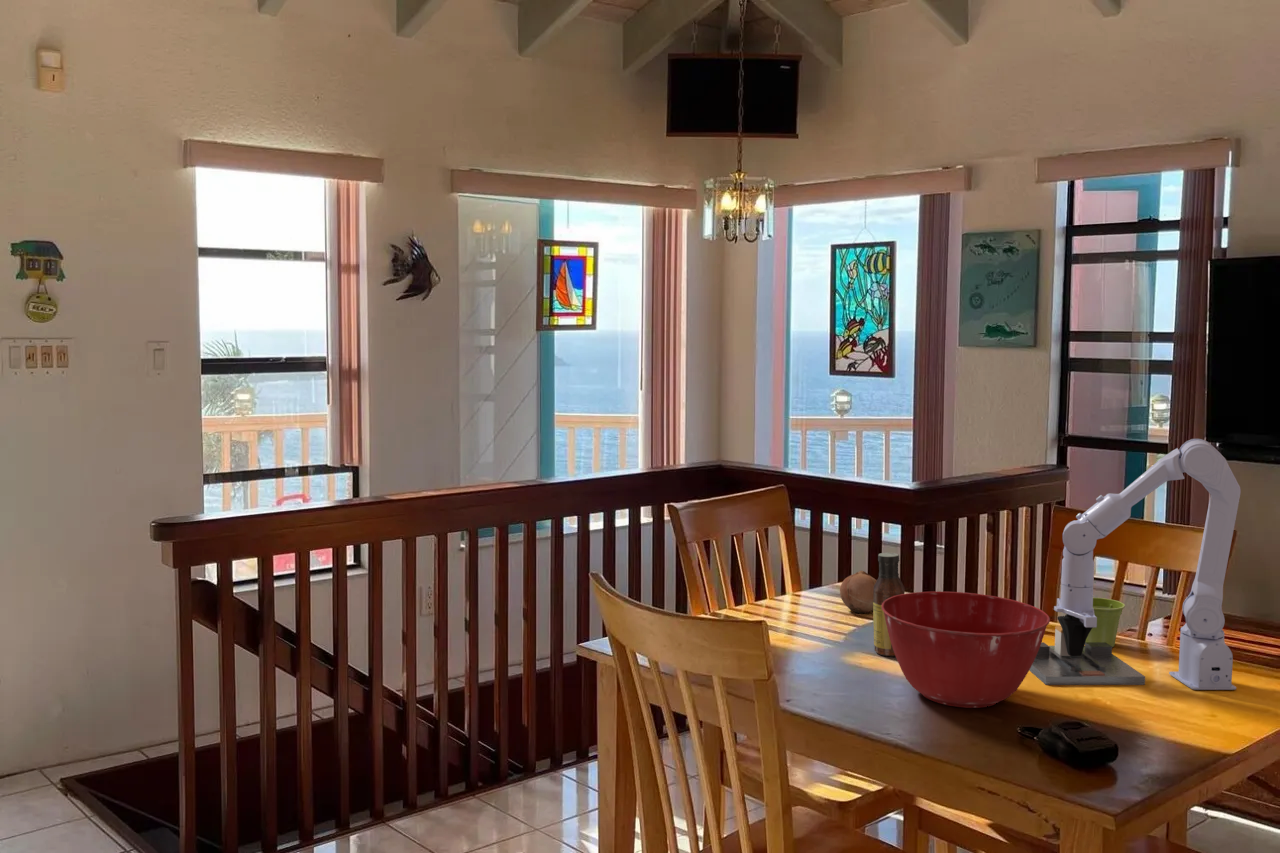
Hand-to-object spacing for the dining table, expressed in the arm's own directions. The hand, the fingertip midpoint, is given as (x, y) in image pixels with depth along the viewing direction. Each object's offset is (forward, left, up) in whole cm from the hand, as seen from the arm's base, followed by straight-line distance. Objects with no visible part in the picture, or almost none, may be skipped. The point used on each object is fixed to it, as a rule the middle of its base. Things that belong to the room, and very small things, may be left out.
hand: (1074, 655), depth 221 cm
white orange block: (+3, 0, -1) cm, 3 cm away
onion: (+43, +32, -3) cm, 54 cm away
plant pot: (+16, -11, -3) cm, 20 cm away
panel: (0, 0, -2) cm, 3 cm away
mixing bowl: (-16, +26, -3) cm, 31 cm away
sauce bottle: (+10, +33, -3) cm, 35 cm away
